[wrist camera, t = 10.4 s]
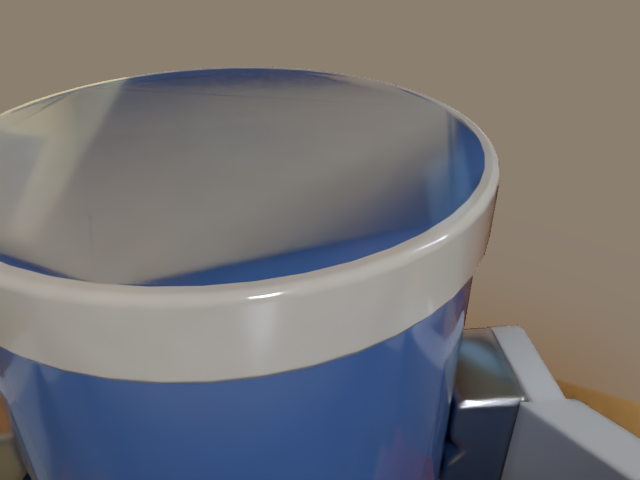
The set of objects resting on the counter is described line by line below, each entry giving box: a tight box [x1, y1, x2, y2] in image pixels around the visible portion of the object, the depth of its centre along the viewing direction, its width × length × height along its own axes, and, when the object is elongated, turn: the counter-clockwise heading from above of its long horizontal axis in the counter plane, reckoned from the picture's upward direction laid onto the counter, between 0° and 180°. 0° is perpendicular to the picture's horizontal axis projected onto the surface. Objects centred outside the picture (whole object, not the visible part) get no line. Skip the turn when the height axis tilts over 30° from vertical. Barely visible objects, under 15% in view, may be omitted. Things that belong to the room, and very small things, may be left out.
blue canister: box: [0, 67, 500, 480], centre depth 9 cm, size 6×6×10 cm
